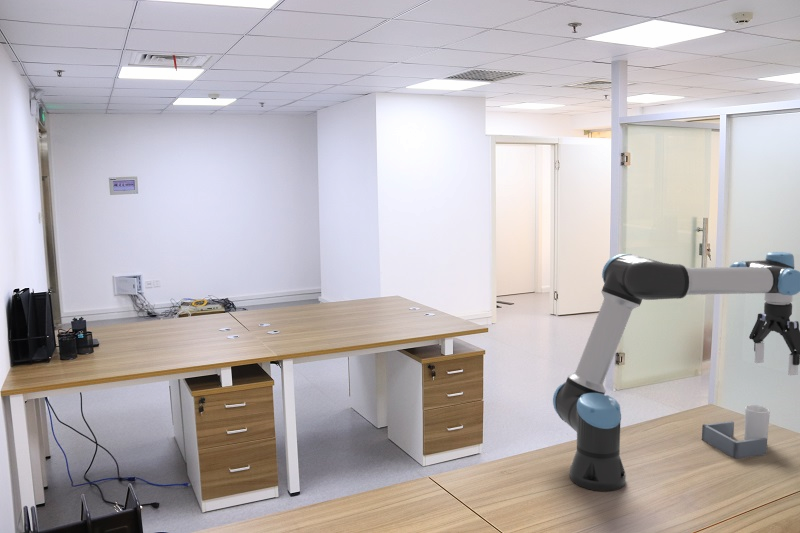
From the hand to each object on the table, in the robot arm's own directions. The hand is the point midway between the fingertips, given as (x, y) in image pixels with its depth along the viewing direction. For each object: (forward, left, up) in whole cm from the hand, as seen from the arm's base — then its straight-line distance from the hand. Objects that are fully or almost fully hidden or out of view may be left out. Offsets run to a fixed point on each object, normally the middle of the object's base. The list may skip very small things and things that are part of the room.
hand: (775, 368), depth 208 cm
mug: (-6, -1, -24) cm, 25 cm away
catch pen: (-15, -1, -24) cm, 28 cm away
